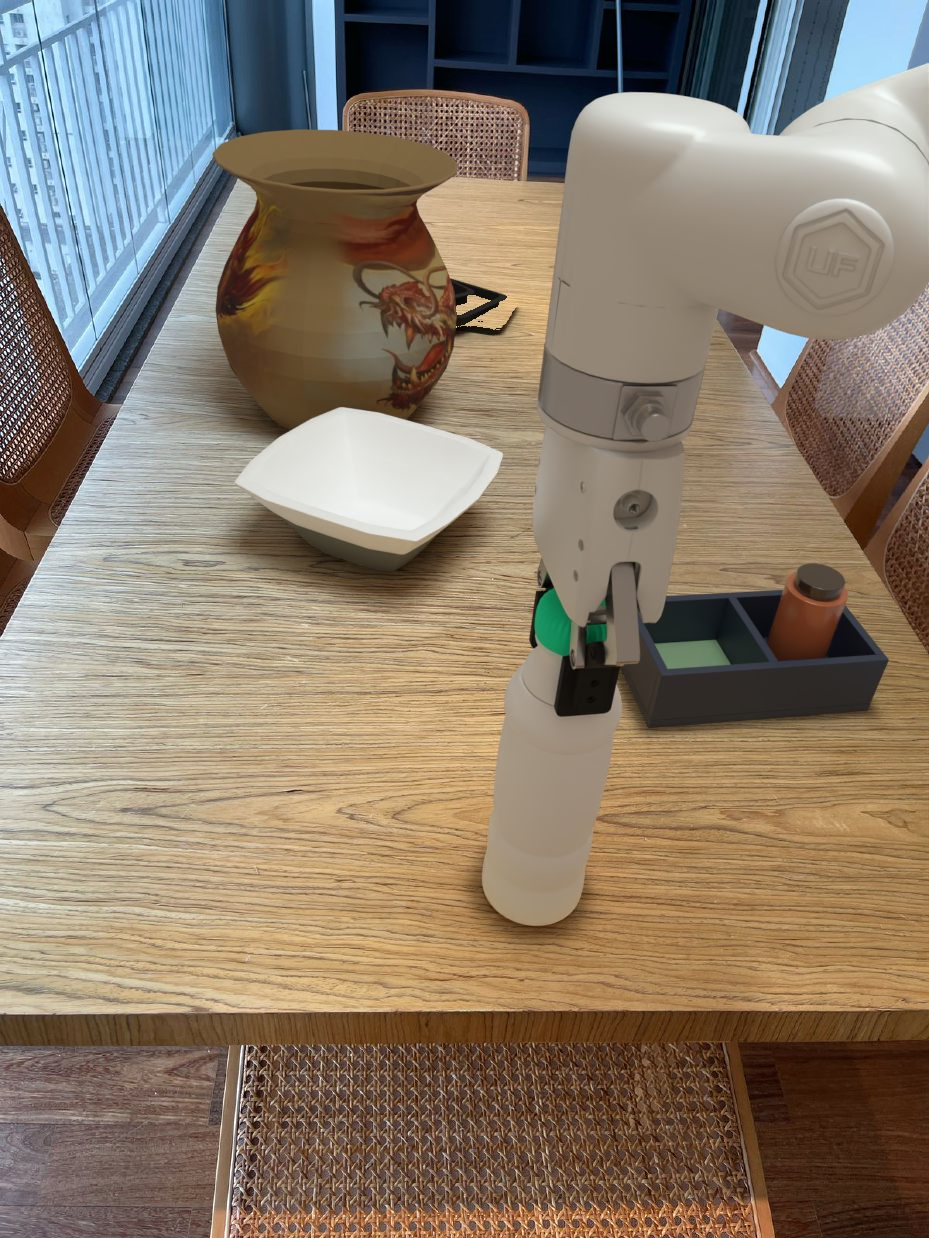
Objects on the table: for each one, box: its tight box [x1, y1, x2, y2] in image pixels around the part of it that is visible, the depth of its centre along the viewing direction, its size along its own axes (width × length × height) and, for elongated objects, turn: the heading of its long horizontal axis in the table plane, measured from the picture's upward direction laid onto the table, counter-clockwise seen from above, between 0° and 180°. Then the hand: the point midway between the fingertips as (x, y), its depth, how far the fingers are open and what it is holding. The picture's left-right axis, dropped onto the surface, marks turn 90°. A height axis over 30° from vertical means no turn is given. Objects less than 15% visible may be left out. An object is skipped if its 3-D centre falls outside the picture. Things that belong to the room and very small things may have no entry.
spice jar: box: [766, 562, 849, 661], centre depth 88 cm, size 5×5×10 cm
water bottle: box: [481, 588, 623, 927], centre depth 63 cm, size 7×7×25 cm
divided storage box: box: [620, 589, 890, 729], centre depth 89 cm, size 11×20×6 cm, turn 100°
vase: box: [212, 129, 458, 431], centre depth 120 cm, size 29×29×30 cm
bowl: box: [234, 407, 504, 573], centre depth 102 cm, size 22×23×8 cm
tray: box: [450, 277, 507, 336], centre depth 155 cm, size 30×23×5 cm
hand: (568, 674), depth 58 cm, fingers closed on water bottle, 5 cm apart
